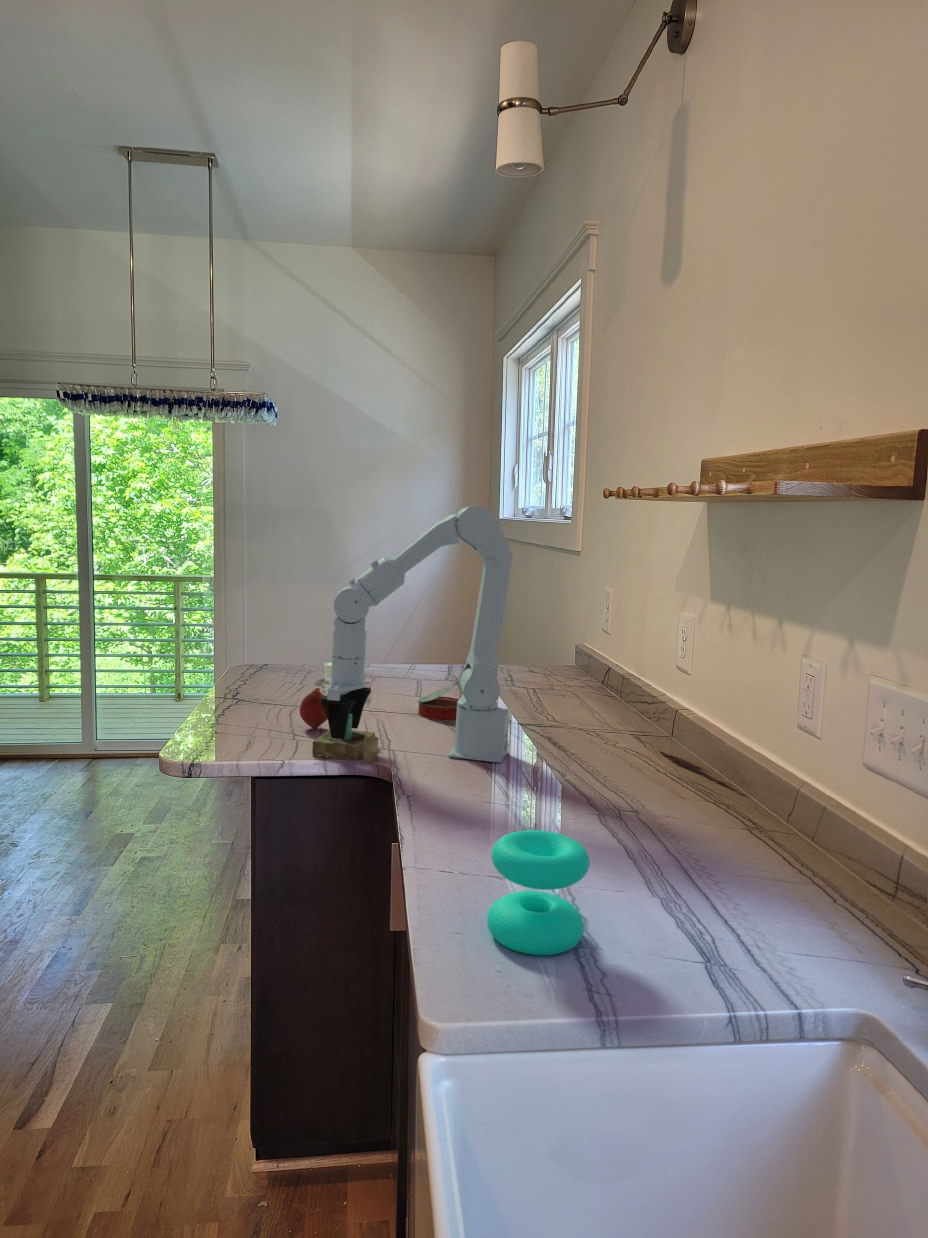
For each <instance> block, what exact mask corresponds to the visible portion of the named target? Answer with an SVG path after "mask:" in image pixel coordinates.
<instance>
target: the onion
mask: <svg viewBox="0 0 928 1238" xmlns="http://www.w3.org/2000/svg"><path fill="white" fill-rule="evenodd" d="M323 696H325V695H324V694H323V693H321V688H320V687H317V686H316V687H314V688H313V690H312V691H311V692H310V693H309V694H307V695H306V696H305V697H304V698H303V699H302V701H301V703H300V706H299V715H300V718H301V720H302V721H303V722H304V723H306V725H307V726H309V727H310V728H311V729H313V728H316V729H318V728H319V727H320V726H321V725H323V724H324V723H325V722H326V721H328V719H327V715H326V712H325V710H324V708H323V706H322V704H321V697H323Z"/></svg>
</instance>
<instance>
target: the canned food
mask: <svg viewBox="0 0 928 1238" xmlns="http://www.w3.org/2000/svg"><path fill="white" fill-rule="evenodd" d="M457 684H458V681H456V682H454V683H452V684H451V685H448V686H446V687H443V688H440V689H437V690H436V691H434V692H431V693H429V694H428V695H425V696H423V697H422V698H419V700H418V716H420V717H421V716H422V717H421V718H424V717H425V718H424V719H427V718H429V719H428V720H432V719H436V720H435V721H444V720H450V721H456V715H457V701H458V700H459V699H460V698H456V697H455V698H454V697H448V696H443V695H445V694H446V693H448V692H449V691H450V690H451V689H452V688H453V687H454V686H456V685H457Z"/></svg>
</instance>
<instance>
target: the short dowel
mask: <svg viewBox="0 0 928 1238" xmlns="http://www.w3.org/2000/svg"><path fill="white" fill-rule="evenodd" d="M378 749H379V737H378V736H376V735H375V736H366V737H364V751H363V756H362V762H364V763H367V764H375V763H377V762H378V752H379V750H378Z"/></svg>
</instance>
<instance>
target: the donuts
mask: <svg viewBox="0 0 928 1238" xmlns="http://www.w3.org/2000/svg"><path fill="white" fill-rule="evenodd" d="M491 860H492V864H493V866H494V867H495V869H496V870H497V872H498V873H499V874H500V875H501V876H502V877H503V878H504V879H506V880H507V881H510V882H511V883H514V884H515V885H519V886H521V887H523V888H524V887H525V888H528V889H533V890H520V891H514V892H511V893H509V894H508V893H507V894H506V895H503V896H502V897H499V898H498V899H497V900H495V901H494V903H493V904H492V905H491V906H490V908H489V910H488V912H487V916H486V917H487V918H486V924H487V928H488V930H489V932H490V935H492V937H493V939H495V940H496V941H497V942H498V943H499V944H500V945H503V946H504V947H506V948H508V949H510V950H513V951H514V952H515V951H516V952H519V953H522V954H527V955H533V956H552V955H557V954H558V955H559V954H562V953H564V952H568V951H569V950H571V949H573V948H574V947H576V946H577V944H578V943H579V942H580V941H581V939H582V938H583V935H584V929H585V924H584V920H583V917H582V915H581V913H580V912H579V910H578V909H577V907H575V906H574V905H573V904H572V903H571V902H569V901H568V900H566V899H564V898H562V897H560V896H558V895H555V894H552V893H550V892H545V891H546V890H547V891H550V890H551V891H552V890H559V889H564V888H568V887H572V886H573V885H575V884H577V883H578V882H580V881H581V880H582V879H583V878H584V877H585V876H586V874H587V873H588V871H589V867H590V858H589V854H588V851H587V850H586V848H584V846H583V845H582V844H581V843H580V842H578V841H577V840H575V839H573V838H572V837H570V836H567V835H564V834H561V833H557V832H553V831H547V830H539V829H538V830H537V829H527V830H517V831H513V832H510V833H507V834H505V835H503V836H501V837H500V838H498V839H497V840H496V842H495V843H494V845H493V847H492V850H491ZM539 890H542V891H539ZM543 890H545V891H543Z"/></svg>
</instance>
